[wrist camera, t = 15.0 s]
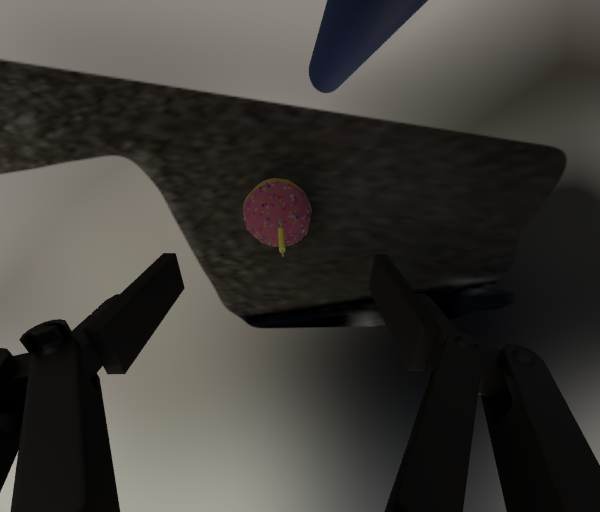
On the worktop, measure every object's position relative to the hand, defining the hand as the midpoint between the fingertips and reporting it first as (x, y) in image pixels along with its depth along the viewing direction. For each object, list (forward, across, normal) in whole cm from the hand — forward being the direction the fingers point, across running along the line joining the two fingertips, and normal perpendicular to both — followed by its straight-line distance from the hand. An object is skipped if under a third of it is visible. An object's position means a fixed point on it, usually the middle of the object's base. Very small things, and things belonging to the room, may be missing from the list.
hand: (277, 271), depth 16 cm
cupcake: (+20, -1, -1) cm, 20 cm away
